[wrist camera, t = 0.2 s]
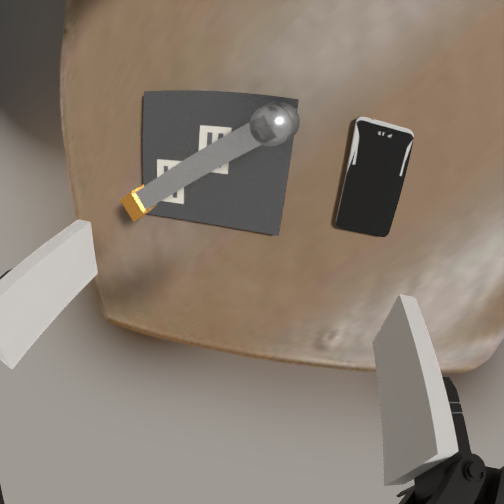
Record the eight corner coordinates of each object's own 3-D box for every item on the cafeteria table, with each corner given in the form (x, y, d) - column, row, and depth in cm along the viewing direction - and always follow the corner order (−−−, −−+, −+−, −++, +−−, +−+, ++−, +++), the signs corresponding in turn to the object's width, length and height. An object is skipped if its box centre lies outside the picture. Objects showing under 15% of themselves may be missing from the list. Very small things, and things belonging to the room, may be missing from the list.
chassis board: (148, 91, 33) (126, 92, 29) (302, 100, 31) (301, 99, 26) (148, 210, 42) (129, 225, 38) (282, 232, 40) (278, 252, 36)
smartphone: (334, 227, 38) (357, 115, 30) (334, 223, 39) (355, 114, 31) (387, 238, 37) (415, 131, 29) (385, 233, 38) (411, 129, 30)
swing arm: (281, 99, 27) (278, 98, 24) (300, 132, 28) (299, 135, 25) (131, 188, 35) (118, 197, 32) (147, 214, 36) (135, 224, 33)
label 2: (200, 125, 34) (199, 125, 33) (231, 127, 33) (230, 128, 33) (198, 170, 37) (197, 170, 36) (227, 173, 36) (227, 174, 36)
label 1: (158, 159, 37) (156, 159, 37) (184, 161, 36) (183, 162, 36) (158, 199, 40) (157, 200, 40) (183, 203, 39) (182, 204, 39)
